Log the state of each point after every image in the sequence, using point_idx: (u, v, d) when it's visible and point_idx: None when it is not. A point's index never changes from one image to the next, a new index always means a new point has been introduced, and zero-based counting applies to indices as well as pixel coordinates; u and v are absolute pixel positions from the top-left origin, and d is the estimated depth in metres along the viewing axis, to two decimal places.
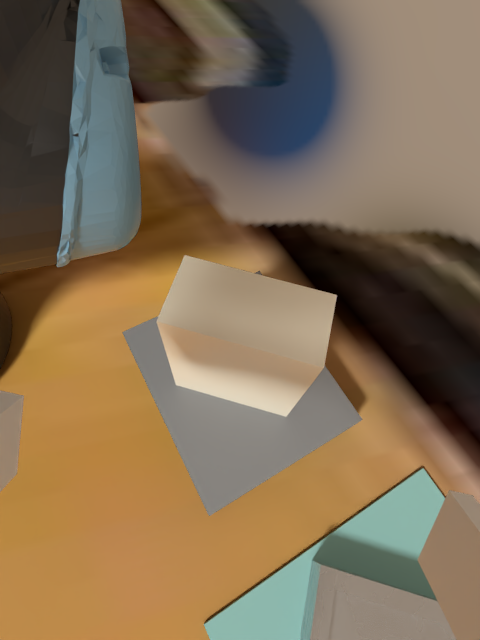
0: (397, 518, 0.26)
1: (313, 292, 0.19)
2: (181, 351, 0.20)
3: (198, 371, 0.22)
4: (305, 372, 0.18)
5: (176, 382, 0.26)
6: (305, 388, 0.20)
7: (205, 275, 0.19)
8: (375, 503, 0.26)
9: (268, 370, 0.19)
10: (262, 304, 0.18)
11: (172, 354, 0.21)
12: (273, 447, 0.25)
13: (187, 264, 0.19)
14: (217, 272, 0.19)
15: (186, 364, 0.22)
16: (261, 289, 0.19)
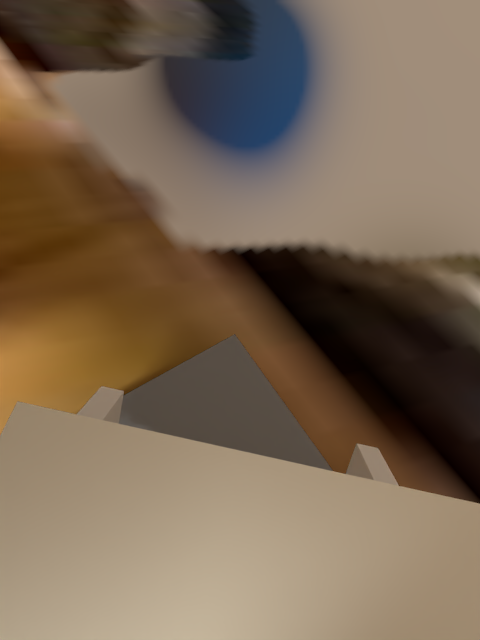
0: None
1: (453, 514, 0.06)
2: None
3: None
4: None
5: None
6: None
7: (86, 483, 0.05)
8: None
9: None
10: (298, 595, 0.05)
11: None
12: None
13: (22, 440, 0.05)
14: (131, 464, 0.05)
15: None
16: (287, 521, 0.05)
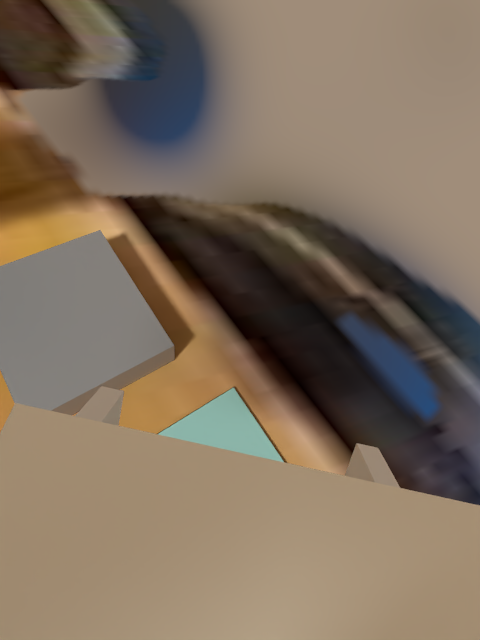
0: (205, 426, 0.31)
1: (455, 517, 0.06)
2: None
3: None
4: None
5: None
6: None
7: (85, 485, 0.05)
8: (188, 416, 0.31)
9: None
10: (298, 600, 0.05)
11: None
12: (91, 368, 0.29)
13: (20, 442, 0.05)
14: (130, 466, 0.05)
15: None
16: (287, 524, 0.05)
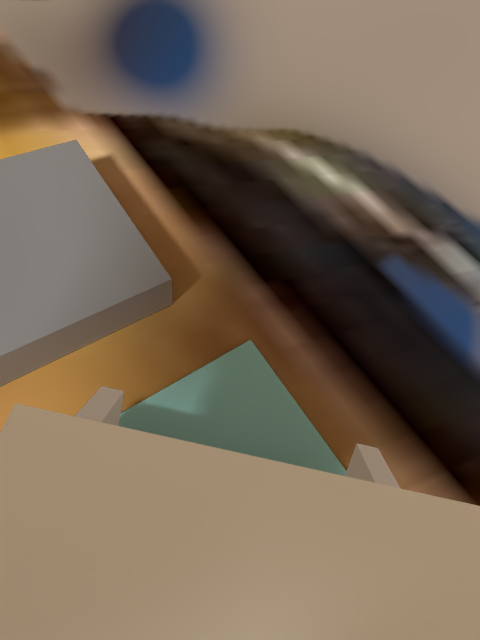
0: (214, 388, 0.23)
1: (455, 517, 0.06)
2: None
3: None
4: None
5: None
6: None
7: (85, 486, 0.05)
8: (190, 374, 0.23)
9: None
10: (298, 600, 0.05)
11: None
12: (56, 305, 0.21)
13: (20, 443, 0.05)
14: (130, 467, 0.05)
15: None
16: (288, 525, 0.05)
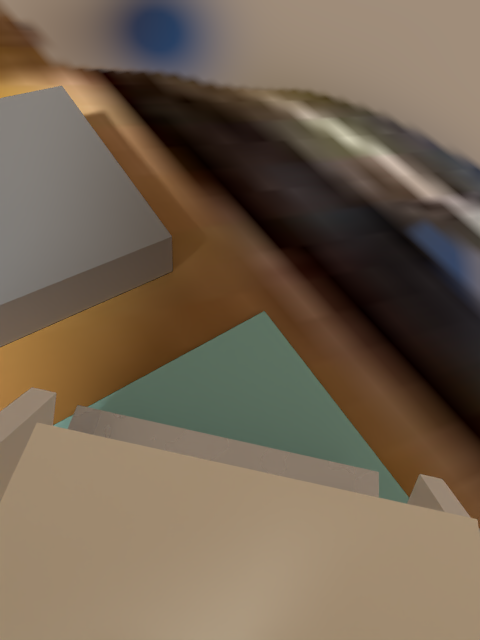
0: (222, 366, 0.19)
1: (416, 520, 0.07)
2: None
3: None
4: None
5: None
6: None
7: (97, 494, 0.06)
8: (194, 350, 0.19)
9: None
10: (278, 591, 0.06)
11: None
12: (32, 263, 0.17)
13: (42, 457, 0.06)
14: (136, 477, 0.06)
15: None
16: (271, 527, 0.06)
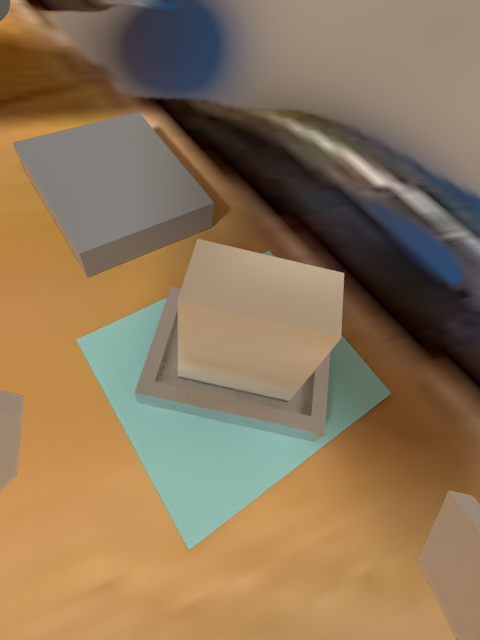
0: None
1: (323, 271, 0.20)
2: (195, 334, 0.20)
3: (207, 357, 0.23)
4: (321, 346, 0.19)
5: (179, 373, 0.26)
6: (316, 364, 0.21)
7: (219, 257, 0.19)
8: None
9: (283, 347, 0.20)
10: (277, 282, 0.19)
11: (183, 339, 0.21)
12: (138, 215, 0.31)
13: (201, 247, 0.19)
14: (231, 254, 0.19)
15: (196, 350, 0.22)
16: (274, 269, 0.19)
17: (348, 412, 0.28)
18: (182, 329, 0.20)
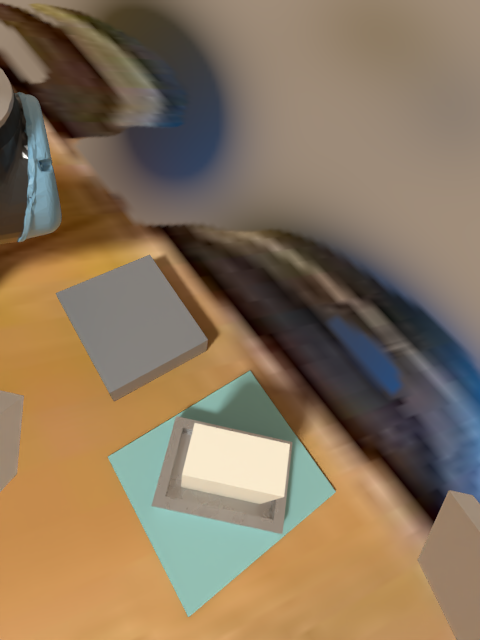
0: (230, 397, 0.43)
1: (276, 443, 0.30)
2: (193, 481, 0.31)
3: (201, 487, 0.33)
4: (273, 496, 0.30)
5: (182, 486, 0.36)
6: (273, 499, 0.32)
7: (209, 437, 0.30)
8: (218, 390, 0.43)
9: (249, 493, 0.31)
10: (245, 455, 0.30)
11: (185, 481, 0.32)
12: (151, 355, 0.41)
13: (197, 430, 0.30)
14: (216, 434, 0.30)
15: (194, 484, 0.33)
16: (244, 444, 0.30)
17: (303, 509, 0.38)
18: (184, 479, 0.31)
